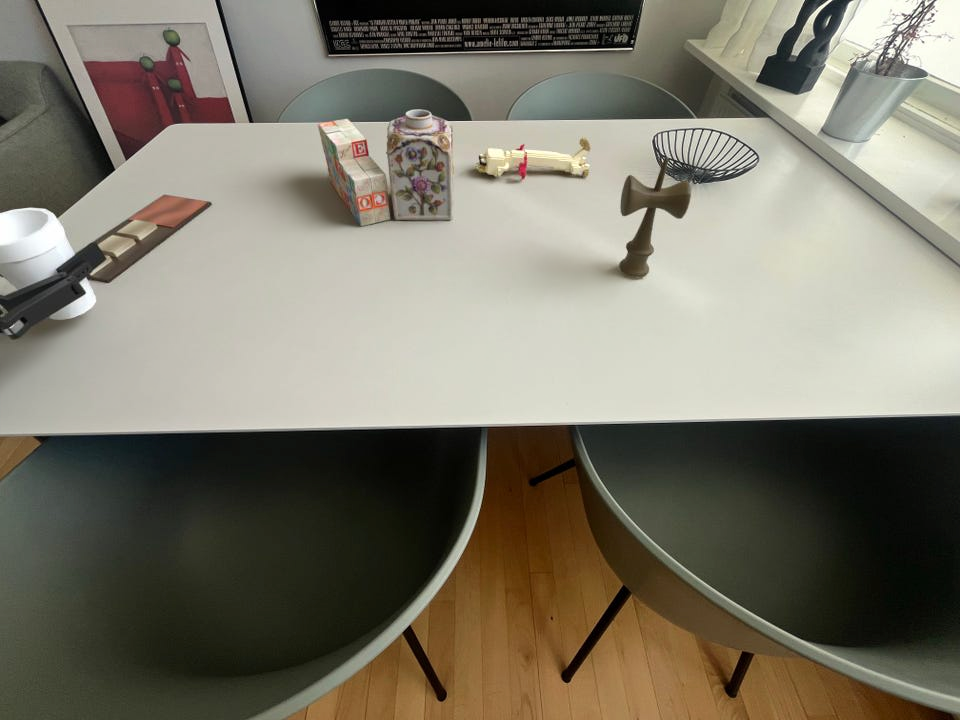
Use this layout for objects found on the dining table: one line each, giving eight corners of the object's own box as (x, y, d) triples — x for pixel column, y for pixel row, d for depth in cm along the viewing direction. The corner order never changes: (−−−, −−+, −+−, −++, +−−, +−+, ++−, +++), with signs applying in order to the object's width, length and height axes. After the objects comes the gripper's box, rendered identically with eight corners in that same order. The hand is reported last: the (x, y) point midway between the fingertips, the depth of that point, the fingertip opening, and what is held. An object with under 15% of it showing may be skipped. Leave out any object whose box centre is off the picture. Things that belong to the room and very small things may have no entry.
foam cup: (54, 287, 73) (-7, 208, 64) (118, 284, 74) (67, 206, 64) (19, 329, 66) (-55, 249, 57) (90, 325, 67) (29, 245, 58)
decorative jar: (393, 221, 94) (381, 125, 81) (398, 192, 102) (388, 101, 89) (454, 221, 94) (452, 125, 81) (454, 192, 102) (452, 101, 89)
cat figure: (578, 168, 114) (474, 160, 111) (588, 130, 108) (478, 121, 105) (587, 188, 107) (476, 180, 104) (598, 149, 101) (480, 139, 98)
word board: (53, 272, 81) (47, 264, 79) (165, 197, 99) (161, 189, 98) (108, 283, 79) (103, 275, 78) (212, 204, 97) (209, 197, 96)
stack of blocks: (391, 220, 94) (383, 157, 85) (361, 227, 92) (349, 164, 83) (357, 175, 107) (347, 117, 98) (329, 181, 105) (316, 122, 96)
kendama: (604, 259, 86) (631, 146, 72) (658, 263, 85) (697, 150, 71) (606, 279, 82) (635, 163, 67) (663, 283, 81) (705, 168, 67)
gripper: (-141, 367, 57) (16, 259, 72) (25, 394, 55) (150, 277, 70) (-205, 320, 51) (-21, 214, 67) (-23, 347, 49) (124, 232, 64)
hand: (67, 246), depth 68 cm, fingers closed on foam cup, 9 cm apart
